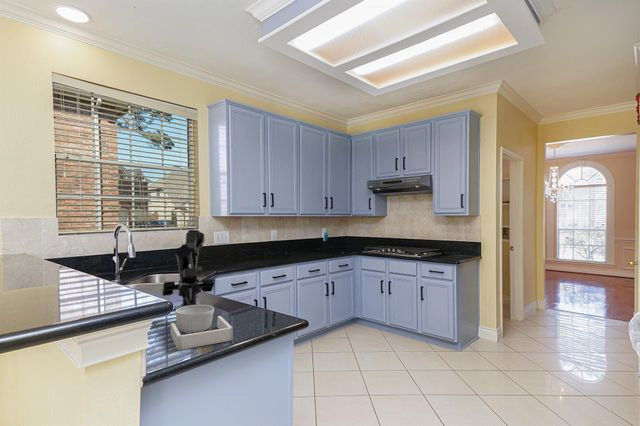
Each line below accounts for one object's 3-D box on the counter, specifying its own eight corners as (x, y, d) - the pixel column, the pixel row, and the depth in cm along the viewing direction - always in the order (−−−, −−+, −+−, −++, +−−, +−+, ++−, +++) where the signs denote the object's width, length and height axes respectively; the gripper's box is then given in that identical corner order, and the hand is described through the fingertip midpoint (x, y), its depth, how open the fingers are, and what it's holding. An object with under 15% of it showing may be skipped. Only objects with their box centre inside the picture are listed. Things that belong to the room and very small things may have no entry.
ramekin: (208, 320, 130) (209, 302, 130) (217, 330, 119) (218, 311, 119) (172, 325, 123) (172, 307, 123) (178, 337, 112) (178, 316, 112)
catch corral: (170, 334, 114) (170, 322, 114) (220, 326, 123) (220, 315, 123) (177, 350, 101) (178, 337, 101) (232, 340, 110) (233, 328, 110)
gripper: (163, 260, 126) (166, 295, 117) (213, 258, 136) (220, 290, 126) (161, 278, 133) (163, 312, 123) (208, 275, 143) (214, 306, 133)
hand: (191, 305), depth 126 cm, fingers closed, pressing on ramekin
